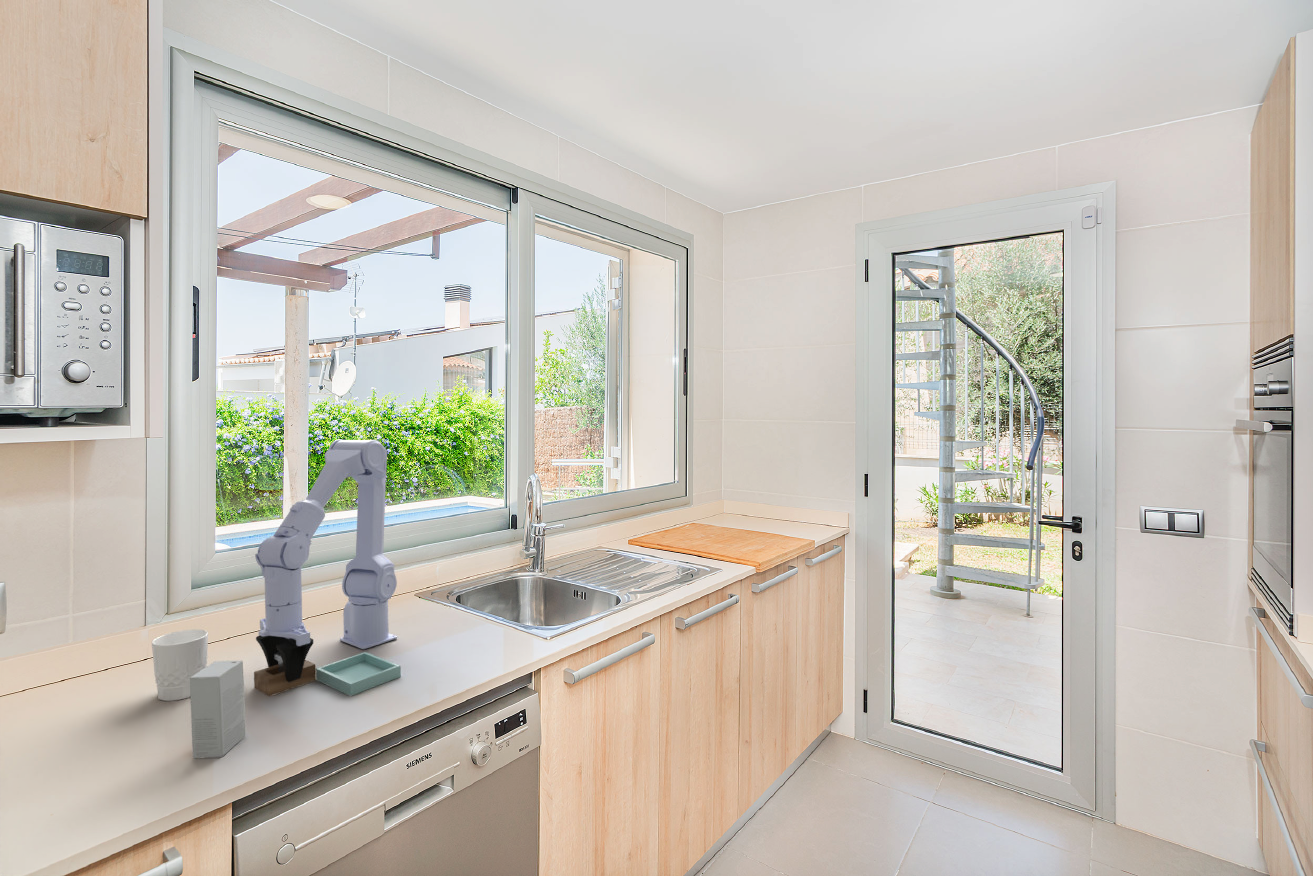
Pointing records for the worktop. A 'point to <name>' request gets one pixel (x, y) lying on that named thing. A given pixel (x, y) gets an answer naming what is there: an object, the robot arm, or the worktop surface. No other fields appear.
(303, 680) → the frame ring
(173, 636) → the white cup
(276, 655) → the t post
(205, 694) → the skincare box
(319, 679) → the tray
